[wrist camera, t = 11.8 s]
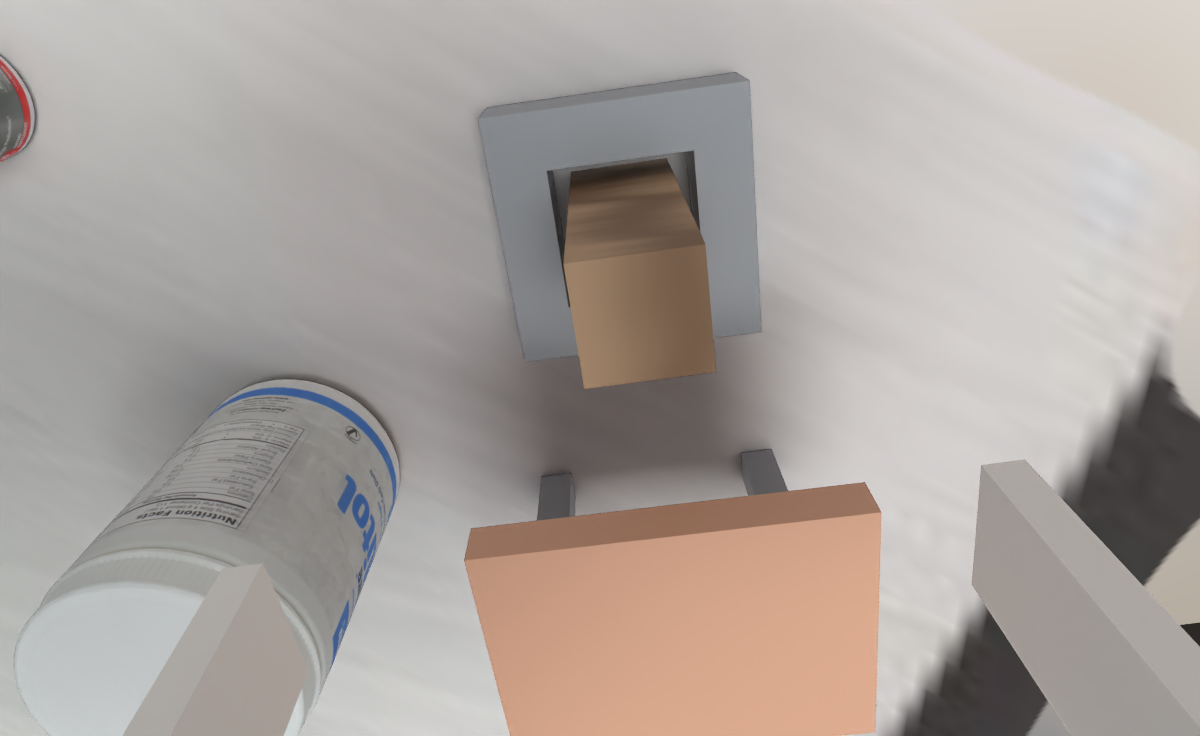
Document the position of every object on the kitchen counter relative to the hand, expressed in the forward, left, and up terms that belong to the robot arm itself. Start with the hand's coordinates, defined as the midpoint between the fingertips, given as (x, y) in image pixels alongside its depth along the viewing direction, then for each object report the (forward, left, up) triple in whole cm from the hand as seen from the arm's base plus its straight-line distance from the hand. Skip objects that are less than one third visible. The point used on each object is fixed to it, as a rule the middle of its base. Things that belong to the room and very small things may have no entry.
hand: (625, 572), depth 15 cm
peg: (+1, +1, -22) cm, 22 cm away
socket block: (+1, +1, -22) cm, 22 cm away
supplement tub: (-16, -9, -22) cm, 29 cm away
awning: (+1, -9, -22) cm, 24 cm away
